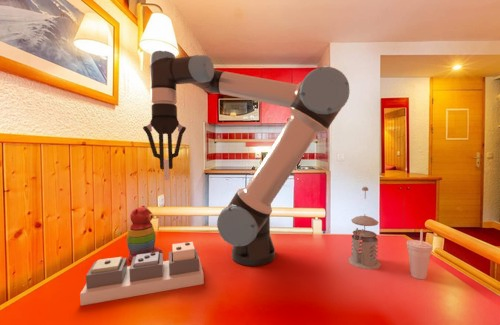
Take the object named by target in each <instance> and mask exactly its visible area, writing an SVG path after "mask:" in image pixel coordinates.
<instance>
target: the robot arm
mask: <svg viewBox="0 0 500 325" xmlns="http://www.w3.org/2000/svg"><path fill="white" fill-rule="evenodd" d="M149 57H150V58H149V74H150V101H151V119H150V122H149V124H147V125H145V126H143V127H142V129H143V131H144V132H145V134H146V135H147V139H148V142H149V146H150V148H151V152H152V156H153V157H154V158H157V159H159V168H160V170H163V175H164V176H163V178H164V179H163V180H164V181H169V180H170V170H172V169H173V167H174V166H173V165H174V164H173V163H174V162H173V160H174V158H176V157H178V156H179V153H180V148H181V143H182V140H183V134H184V133H185V131H186V129H187V127H186V126H183V125H181V124H180V121H179V119H178V107H177V105H176V104H177V102H178V101H177V99H178V98H177V97H178V96H177V85H184V84H185V85H186V84H187V85H188V84H191V85H194V86H196V87H198V88H200V89H202V90H203V91H205V92H207V93H209V94H213V95H215V94H218V95H219V94H220V95H226V96H230V97H234V98H235V97H236V98H239V99H244V100H251V101H255V102H259V103H264V104H270V105H275V106H279V107H283V108H289V113H290V116H289V118H288V120H287V121H286V123H285V124H284V126H283V128H282V129H281V131H280V132H279V134H278V136H277V137H276V139H275V141H274V142H273V144H272V145H271V147H270V148H269V150H268V152H267V153H266V155H265V156H264V158H263V160H262V161H261V163H260V164H259V166H258V167H257V169H256V171H255V172H254V174H253V175H252V177H251V179H250V180H249V181H248V183H247V185H246V186H245V187H243V188H238V189H237V191H236V192H235V194H234V196H233V197H232V198H231V201H230V202H229V204H228V205H227V206H226V207H225V208H223V209H222V210H221V211H220V212H219V215H218V217H217V220H216V226H217V231H218V233H219V236H220V237H221V238H222V240H224V241H225V242H226V243H227V244H228V245H231V246H232V248H231V259H232V260H233V261H234V262H235V263H237V264H240V265H244V266H249V267H250V266H251V267H252V266H253V267H255V266H264V265H267V264H269V263H271V262H273V261H274V260H275V258H276V250H275V245H274V243H273V240H272V237H271V232H270V231H271V230H270V229H271V219H270V218H271V216H270V215H271V214H272V212H273V210H272V209H273V208H272V205H271V204H272V203H273V201H274V199H275V198H276V197H277V195H279V192H280V190H282V188H283V186H284V185H285V183H286V182H287V180H288V179H289V177H290V176H291V174H292V173H293V171H294V170H295V169H296V167H297V165H298V164H299V163H300V161H301V159H302V158H303V156H304V155H305V153H306V151H307V150H308V149H309V148H310V146H311V144H312V143H313V141H314V140H315V139H316V137H317V135H318V134H319V133H321V132H322V133H323V132H326V131H328V129H329V127H330V126H331V125H332V123H333V122H334V120H335V119H336V117H337V115H338V114H339V112H340V111H341V110H342V108H343V107H344V106H345V105H346V104H347V102H348V101H349V96H350V83H349V80H348V78H347V76H346V75H345V73H343V72H342V71H341V70H339V69H337V68H335V67H333V66H320V67H318V68H315V69H313V70H311V71H310V72H308V73H307V74H306V76H305V77H304V78H303V80H302V81H300V82H299V83H297V84H296V83H291V82H284V81H280V80H274V79H269V78H262V77H258V76H252V75H247V74H242V73H241V74H240V73H235V72H229V71H222V70H219V69H215V68H214V64H213V61H212V60H211V59H212V58H210V57H209V55H206V54H202V55H200V54H196V55H190V56H184V57H183V56H182V57H176V56H175V54H174V53H173V52H170V51H167V50H154V51H153V52H151V54H150V56H149ZM152 128H153V129H154V130H155V131H156V133H157V134H158V147H159V148H158V150H159V153H158V151H157V148H156V144H155V141H154V136H153V134H152V131H153V129H152ZM176 130H177V131H178V136H177V140H176V144H175V148H174V153H173V136H172V134H173V133H174V132H175V131H176ZM164 135H167V153H168V156H167V157H168V158H165V151H164V149H165V148H164V147H165V146H164Z"/></svg>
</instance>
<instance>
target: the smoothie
mask: <svg viewBox="0 0 500 325" xmlns="http://www.w3.org/2000/svg"><path fill="white" fill-rule="evenodd" d="M423 231H424V229H423V228H421V229H420V231H419V232H420V235H419V236H420V237H419V240H418V239H408V240H407V241H406V247H407V252H408V261H409V270H410V276H411V277H413V278H414V279H417V280H426V279H427V275H428V269H429V265H430V264H429V263H430V258H431V253H432V251H433V249H434V247H433V245H432V244H431V243H430V242H427V241H424V240H423V239H424V238H423V237H424V236H423V235H424V232H423Z"/></svg>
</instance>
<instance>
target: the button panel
mask: <svg viewBox="0 0 500 325" xmlns="http://www.w3.org/2000/svg"><path fill="white" fill-rule="evenodd" d="M194 249H195V259H188V260H181V261H174V262H173V251H169V252H168V260H164V254H163V252H162V253H159V264H154V265H147V266H140V267H134V263H135V259H136V256H135V257H133V259H132V262H131V263H130V265H128V262H127V261H128V257H122V263H121V266H120V268H119V270H112V271H105V272H98V273H92V269H93V267H94V265H95V264H96V262H97V261H94V262H93V264H92V266H91V267H90V269H89V270H88V272H87V273H86V275H85V285H84V286H83V289H82V290H81V292H80V293H79V296H80V297H79V298H80V306H86V305H93V304H98V303H103V302H109V301H115V300H119V299H120V300H122V299H125V298H131V297H132V298H133V297H136V296H137V297H138V296H143V295H148V294H154V293H159V292H164V291H165V292H166V291H171V290H177V289H184V288H188V287H194V286H200V285H204V284H205V282H204V278H205V276H204V272H203V271H204V270H203V267H202V264H201V260H200V257H199V254H198V251H197V248H195V247H194Z"/></svg>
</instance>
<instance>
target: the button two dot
mask: <svg viewBox="0 0 500 325" xmlns="http://www.w3.org/2000/svg"><path fill="white" fill-rule="evenodd" d="M172 252H173V262H174V261H181V260H188V259H195V246H194V242H193V241H188V242H179V243H172Z"/></svg>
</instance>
